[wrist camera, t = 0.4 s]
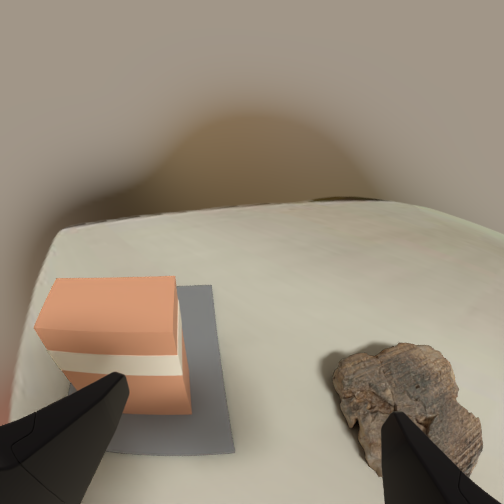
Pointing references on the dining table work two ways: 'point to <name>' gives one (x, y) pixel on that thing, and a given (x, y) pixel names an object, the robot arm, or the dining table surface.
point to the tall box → (120, 338)
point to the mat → (201, 389)
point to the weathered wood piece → (407, 401)
